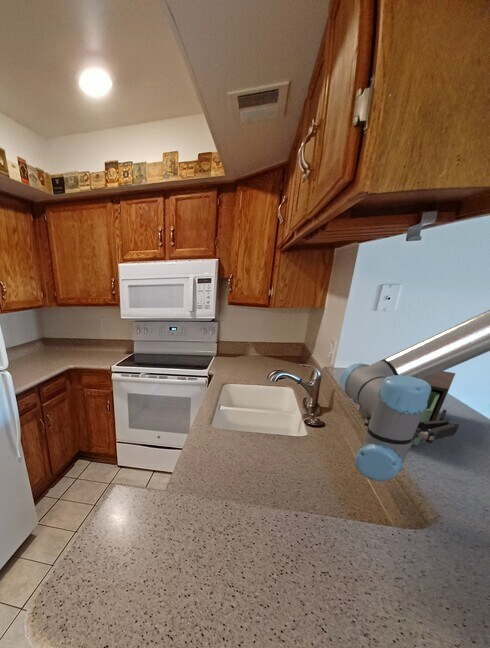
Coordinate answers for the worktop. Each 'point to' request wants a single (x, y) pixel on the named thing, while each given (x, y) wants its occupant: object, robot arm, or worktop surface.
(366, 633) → the worktop surface
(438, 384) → the cubby
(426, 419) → the storage bin
